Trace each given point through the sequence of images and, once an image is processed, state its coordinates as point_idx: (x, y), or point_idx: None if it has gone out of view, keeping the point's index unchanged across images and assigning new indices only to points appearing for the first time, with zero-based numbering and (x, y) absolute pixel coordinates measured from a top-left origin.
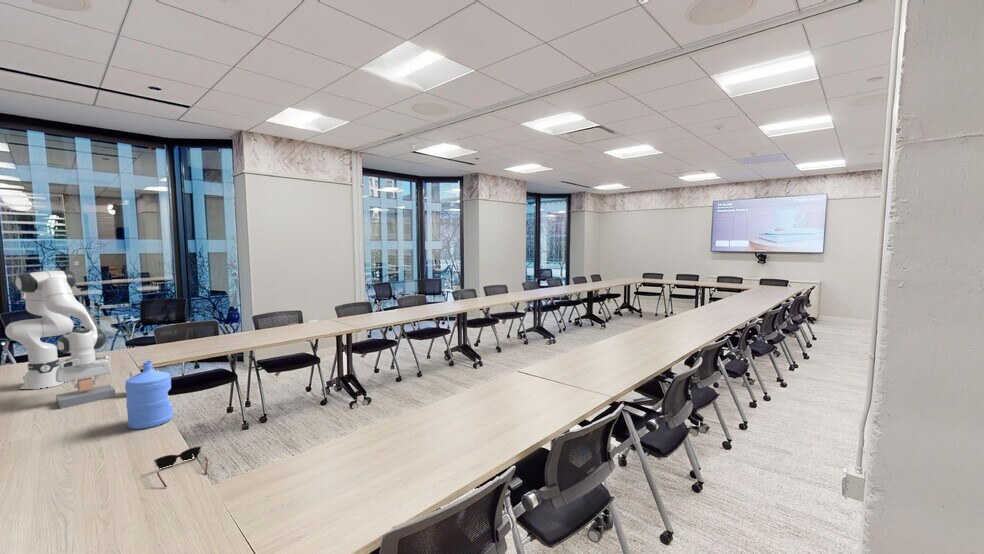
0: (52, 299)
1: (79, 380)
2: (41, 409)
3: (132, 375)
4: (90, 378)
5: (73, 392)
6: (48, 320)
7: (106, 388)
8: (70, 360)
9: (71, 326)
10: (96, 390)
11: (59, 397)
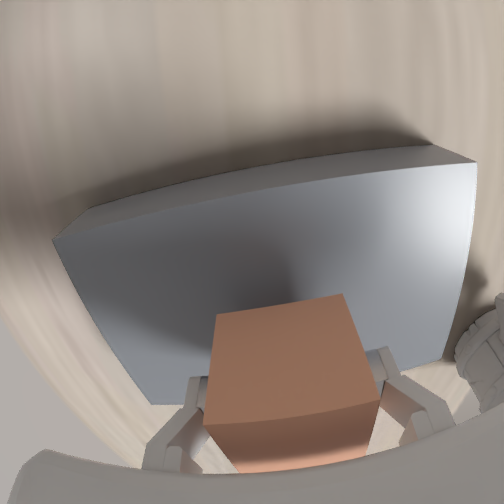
0: None
1: (238, 451)
2: (68, 308)
3: None
4: (359, 434)
5: (175, 254)
6: None
7: (425, 308)
8: None
9: None
10: (360, 322)
11: (114, 340)
